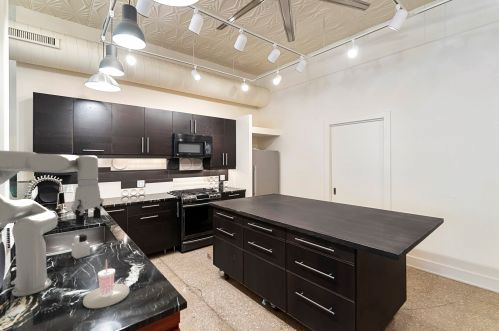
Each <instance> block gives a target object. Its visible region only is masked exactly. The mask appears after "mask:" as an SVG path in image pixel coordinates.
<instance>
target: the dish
mask: <svg viewBox="0 0 499 331" xmlns="http://www.w3.org/2000/svg"><path fill="white" fill-rule="evenodd" d="M129 294H130V287H129V286H128V285H127V284H125V283H114V292H113V294H112V295H110V296H107V297H101V296H100V287H97V288H95V289H93V290H91V291H90V292H88V293H87V294H86V295H85V296H84V297H83V300H82V304H83V306H84V307H85V308H88V309H102V308H106V307H109V306H113V305H115V304H117V303H119V302H121V301H123V300H125V299H126V297H127V296H128V295H129Z"/></svg>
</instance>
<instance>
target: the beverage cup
mask: <svg viewBox="0 0 499 331" xmlns="http://www.w3.org/2000/svg"><path fill="white" fill-rule="evenodd" d="M115 274H116V269H115V268H108V259H107V258H106V259H105V269H101V270H100V271H98V273H97V277H98V284H99V287H98V288H100V296H101V297H107V296H110V295H112V294H113V292H114V284H115Z"/></svg>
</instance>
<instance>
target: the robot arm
mask: <svg viewBox="0 0 499 331" xmlns="http://www.w3.org/2000/svg"><path fill="white" fill-rule="evenodd" d="M98 159H99V158H98V157H97V156H96V155H85V154H84V155H74V154H73V155H72V154H51V153H36V152H34V151H17V150H13V151H12V150H0V185H3V184H4V183H6V182H7V181H8V180H10V179H12V178H13V177H14V176H16V175H17V174H19V173H20V172H29V173H54V174H55V173H56V174H58V173H60V174H61V173H62V174H63V173H72V172H73V173H74V172H77V186H76V189H75V192H74V201H73V202H74V203H73V204H72V205H71V206H70V209H71V211H72V213H73V214H74V216H75V224H76V225H84V224H85V214H84V213H85V211H86V210H89V209H93V212H92V213H93V214H92V215H93V217H92V218H93V219H95V220H97V219H101V213H102V212H101V211H102V208H103V204H104V201H105V200H104V198H101V192H100V186H99V160H98ZM58 221H59V220H58V217H57V216H56V214H55V213H54V212H52V211H51V210H49V209H48V208H46V207H44V206H43V205H42V204H39V203H38V202H36V201H35V200H33V199H29V198H18V199H9V198H7V197H6V196H3V195H2V194H1V193H0V224H4V225H5V224H6V225H7V224H12V223H14V224H13V226H12V229H11V232H12V237H13V240H14V245H15V256H16V258H15V261H16V267H15V268H16V277H15V278H14V280H12V281H11V282H10V284H11V285H14V288H13V289H12V290H11V295H12V296H14V297H25V296H30V295H34V294H37V293H39V292H41V291H44V290H46V289H48V288H49V287H50V286H51V285H52V280H51V279H50V278H47V277H48V274H47V272H48V271H47V244H46V240H45V239H44V237H43V235H44V234H45V233H47V232H50V231H52V230H53V229H54V228H56V227H57V224H58V223H59V222H58Z"/></svg>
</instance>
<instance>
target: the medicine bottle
mask: <svg viewBox="0 0 499 331" xmlns="http://www.w3.org/2000/svg"><path fill="white" fill-rule="evenodd" d="M73 240H74V242H73V243H71V256H72V257H73V258H74V259H76V260H77V259H81V258H84V257H87V256H91V243H90V242H88V235H87V234H85V233H84V234H83V233H82V234H81V233H80V234H77V235H75V236H74V239H73Z"/></svg>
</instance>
